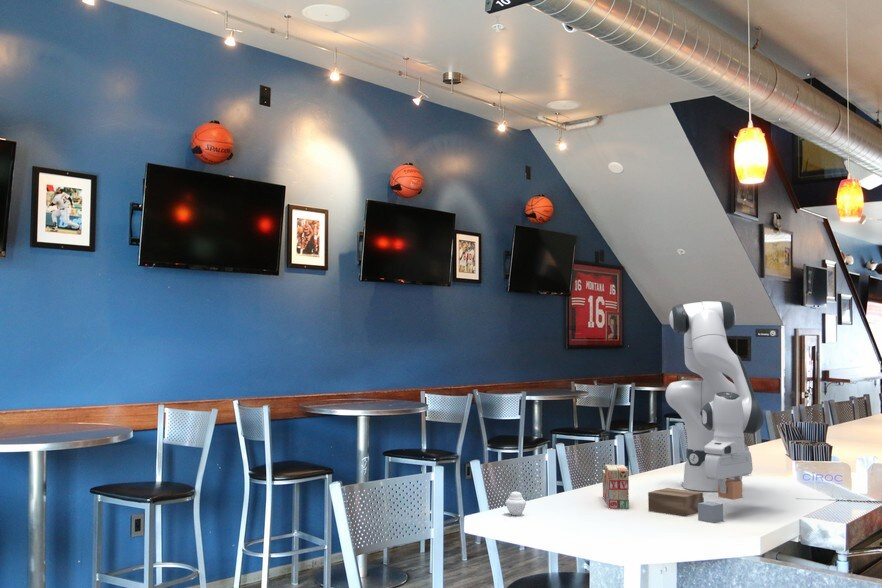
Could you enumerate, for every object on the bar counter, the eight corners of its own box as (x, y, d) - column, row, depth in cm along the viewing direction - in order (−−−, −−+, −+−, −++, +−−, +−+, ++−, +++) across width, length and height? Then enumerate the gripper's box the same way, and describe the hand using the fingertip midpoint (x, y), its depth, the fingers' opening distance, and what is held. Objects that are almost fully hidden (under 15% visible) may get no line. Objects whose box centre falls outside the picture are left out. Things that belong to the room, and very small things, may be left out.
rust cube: (727, 495, 245) (727, 478, 245) (742, 497, 241) (742, 480, 242) (718, 497, 242) (717, 480, 242) (733, 499, 238) (732, 482, 238)
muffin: (523, 517, 235) (523, 493, 235) (503, 515, 237) (503, 492, 238) (528, 513, 241) (528, 490, 241) (508, 512, 243) (508, 488, 243)
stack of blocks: (602, 497, 270) (601, 460, 271) (621, 497, 270) (620, 461, 271) (608, 509, 249) (608, 469, 250) (629, 509, 248) (628, 469, 249)
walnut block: (667, 506, 254) (667, 487, 255) (703, 512, 246) (702, 492, 246) (648, 512, 245) (648, 492, 246) (684, 517, 237) (684, 497, 238)
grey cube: (708, 518, 235) (707, 501, 235) (723, 521, 231) (722, 503, 231) (698, 520, 232) (697, 503, 232) (713, 523, 228) (712, 505, 228)
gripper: (738, 442, 251) (739, 486, 251) (700, 447, 239) (701, 494, 238) (757, 444, 246) (758, 489, 246) (719, 449, 234) (720, 497, 233)
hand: (730, 491), depth 242 cm, fingers closed on rust cube, 5 cm apart
